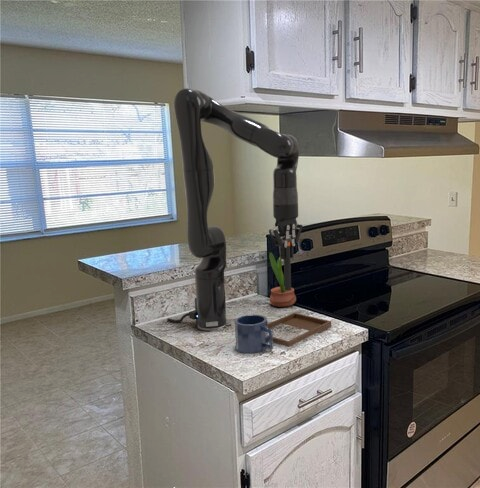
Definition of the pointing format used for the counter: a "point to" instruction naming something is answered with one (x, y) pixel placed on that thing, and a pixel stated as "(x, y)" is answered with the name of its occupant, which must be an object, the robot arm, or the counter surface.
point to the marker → (287, 269)
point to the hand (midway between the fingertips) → (287, 258)
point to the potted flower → (279, 294)
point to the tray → (301, 322)
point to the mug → (252, 334)
